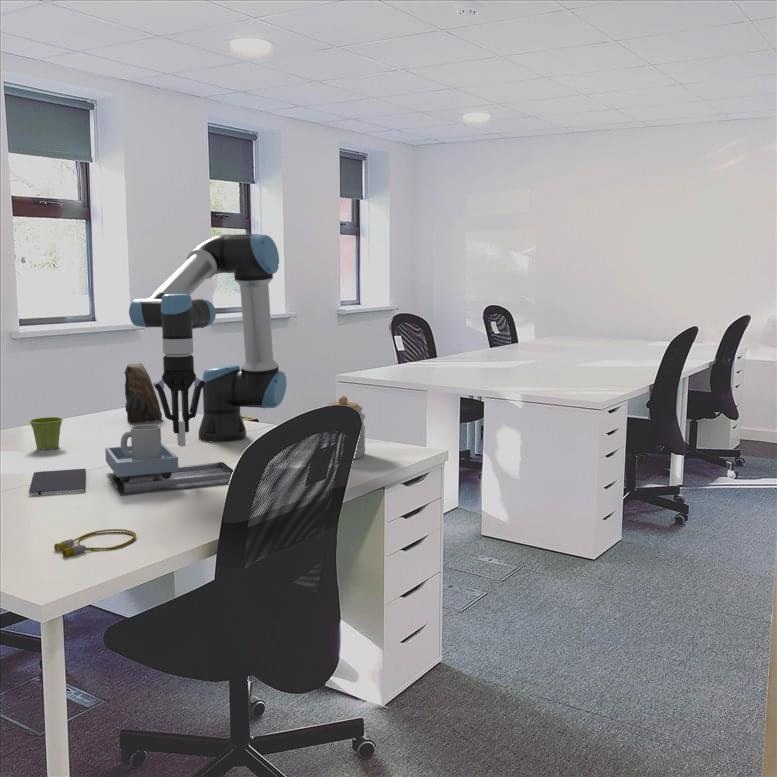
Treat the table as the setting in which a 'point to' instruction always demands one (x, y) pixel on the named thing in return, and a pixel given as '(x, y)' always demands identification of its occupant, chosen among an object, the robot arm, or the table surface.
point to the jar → (361, 442)
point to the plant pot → (46, 432)
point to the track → (174, 479)
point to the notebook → (58, 482)
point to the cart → (140, 463)
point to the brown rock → (140, 395)
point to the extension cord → (75, 550)
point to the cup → (143, 442)
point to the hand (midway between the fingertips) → (181, 445)
